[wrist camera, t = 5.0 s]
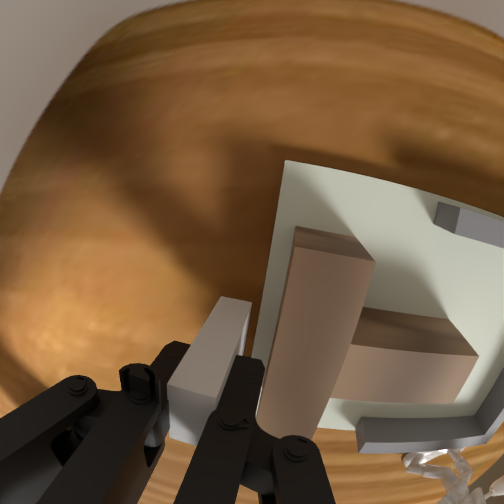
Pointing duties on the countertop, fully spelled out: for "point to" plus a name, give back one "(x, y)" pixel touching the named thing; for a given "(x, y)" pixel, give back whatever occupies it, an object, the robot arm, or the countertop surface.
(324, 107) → the countertop surface
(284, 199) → the board
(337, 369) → the t block
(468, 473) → the figurine
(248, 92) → the countertop surface
